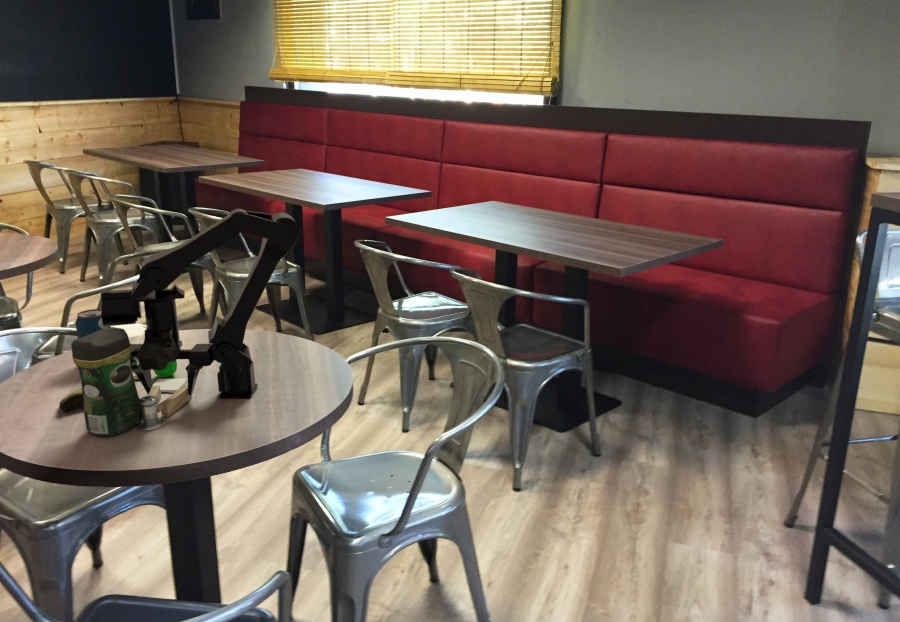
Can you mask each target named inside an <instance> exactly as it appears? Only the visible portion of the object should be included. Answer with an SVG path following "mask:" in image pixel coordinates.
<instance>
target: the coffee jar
mask: <svg viewBox="0 0 900 622" xmlns="http://www.w3.org/2000/svg"><path fill="white" fill-rule="evenodd" d="M131 344H132V343H130V339H129V335H128V333H127V331H126V330H125V329H124V328H120V327H116V326H115V327H114V326H110V327H106V328H105V329H102V330H100V331H97V332H94V333H92V334H89V335H87V336H84V337H82V338H78V337H77V338H76V339H73V341H72V342H71V344H70V346H71V355H72V360H73V363H74V364H75V366H76V367H77V369H78V372H79V377H80V384H81V388H82V392H83V403H84V408H83V413H84V414H83V415H84V423H85V429H86V431H87V432H88V433H90V434H92V435H93V436H97V437H104V436H115V435H118V434H120V433H122V432H125V431H127V430H129V429H130V428H132V427H134V426H135V425H138V424H139V423H140V422H142V421H143V416H142V408H141V406H140V405H139V404H138V400H139V399H140V397H139V393H138V390H137V385H136V382H135V381H136V380H135V381H134V377H133V376H134V374H133V372H132V368H131V361H130V355H131Z"/></svg>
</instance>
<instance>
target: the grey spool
mask: <svg viewBox="0 0 900 622" xmlns="http://www.w3.org/2000/svg"><path fill="white" fill-rule="evenodd" d="M157 402H158V397H157V396H148V395H145V396H143V397H139V400H138V404H139V405H140V406H141V408H142V416H143V418H142V420H141V421H140V422H138V423H137V424H136V426H137V429H138V430H139V429H140V431H143V430H144V432H145V430H147V432H148V430H150V431H155V430H159V429H160V428H162V427H164V425H165V424H166V421H165V420H164V419H162V418H159V415H158V414H159V413H157V406H156V403H157Z"/></svg>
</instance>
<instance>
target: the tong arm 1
mask: <svg viewBox="0 0 900 622" xmlns="http://www.w3.org/2000/svg"><path fill="white" fill-rule="evenodd" d="M147 396H157V397H158V402H157V403H156V406H157V405H159V404H160V402H161V398H162V397H161V396H162V393H160V385H158V386H153V385H152V388H151V390H150V392H149V395H148V394H147Z"/></svg>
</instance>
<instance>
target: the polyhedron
mask: <svg viewBox="0 0 900 622" xmlns="http://www.w3.org/2000/svg"><path fill="white" fill-rule="evenodd" d="M177 369H178V361H176V362H170V363H167V367H166V368H165V369H163V370H153V372H154V374H155V375H156V376H158V377H161V378H163V379H167V378H169V377H170V378H171V377H172V376H173V375H175V374H176V372H177ZM166 377H167V378H166Z"/></svg>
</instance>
